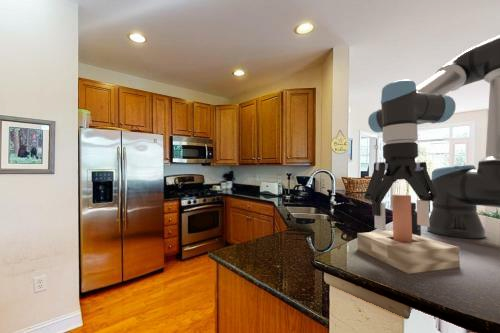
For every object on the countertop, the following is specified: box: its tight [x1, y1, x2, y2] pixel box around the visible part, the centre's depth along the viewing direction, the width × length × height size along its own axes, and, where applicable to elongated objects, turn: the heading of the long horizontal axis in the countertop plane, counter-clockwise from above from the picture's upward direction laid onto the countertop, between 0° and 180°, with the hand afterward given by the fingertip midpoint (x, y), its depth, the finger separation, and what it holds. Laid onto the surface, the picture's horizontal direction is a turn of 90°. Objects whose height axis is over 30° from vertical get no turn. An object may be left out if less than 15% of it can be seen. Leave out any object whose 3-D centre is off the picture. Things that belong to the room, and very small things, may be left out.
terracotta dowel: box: [391, 194, 412, 243], centre depth 58 cm, size 4×4×14 cm
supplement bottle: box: [411, 201, 422, 236], centre depth 72 cm, size 7×7×12 cm
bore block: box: [356, 230, 461, 275], centre depth 58 cm, size 14×16×4 cm
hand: (402, 227), depth 58 cm, fingers open, 12 cm apart
